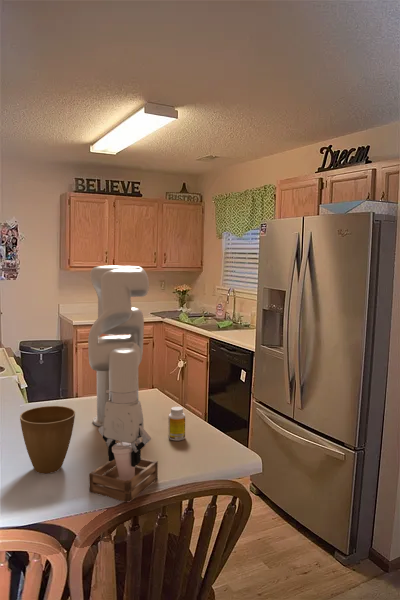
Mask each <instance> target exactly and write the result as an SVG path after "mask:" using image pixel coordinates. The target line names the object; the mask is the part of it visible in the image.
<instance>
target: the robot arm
mask: <svg viewBox="0 0 400 600" xmlns="http://www.w3.org/2000/svg"><path fill="white" fill-rule="evenodd" d="M89 274H90V275H89V276H90V282H91V284H92V287H93V289H94V291H95V293H96V296H97V318H96V319H95V321H94V322H93V324H92V326H91V327H90V330H89V333H88V337H87V338H88V339H87V340H88V341H87V348H88V349H87V351H88V352H87V353H88V362H89V366H90V369H92V370H94V371H96V416H94V417H93V418H92V423H93V425H95V426H97V427H99V428H98V430H97V431H98V432H99V434H100V435H101V437H102V439H103V440H104V442H105V446H107V455H108V461H113V460H114V459H115V457H114V453H113V452H112V446H113V445H115V444H117V443H118V442H120V441H122V442H127V443H131V446H132V448H133V452H132V453H131V466H132V467H135V466H137V465H138V464H139V463H140V461H141V458H142V454H141V453H142V452H141V451H142V449H143V448H144V447H146V445H148V443H149V442H150V441H151V440H152V437H151V436H150V435H149V433H148V432H147V431H146V429H145V428H144V427H145V426H144V414H143V408H142V404H141V403H142V402H141V401H140V400H139V366H140V364H141V363H142V361H143V360H142V359H143V354H144V351H143V350H144V329H145V324H144V323H145V319H144V315H143V312H142V310H141V309H140V308H138V307H134V306H133V307H132V298H131V297H133V298H134V297H141V298H142V297H146V296H147V295H148V294H149V291H150V290H149V289H150V280H149V276H148V274H147V271H146V270H145V269H144V268H143V267H142V266H137V265H100V266H99V265H98V266H94V267H93V268H91V270H90V273H89ZM102 335H104V336H102ZM141 438H142V440H141ZM116 441H118V442H116Z"/></svg>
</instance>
